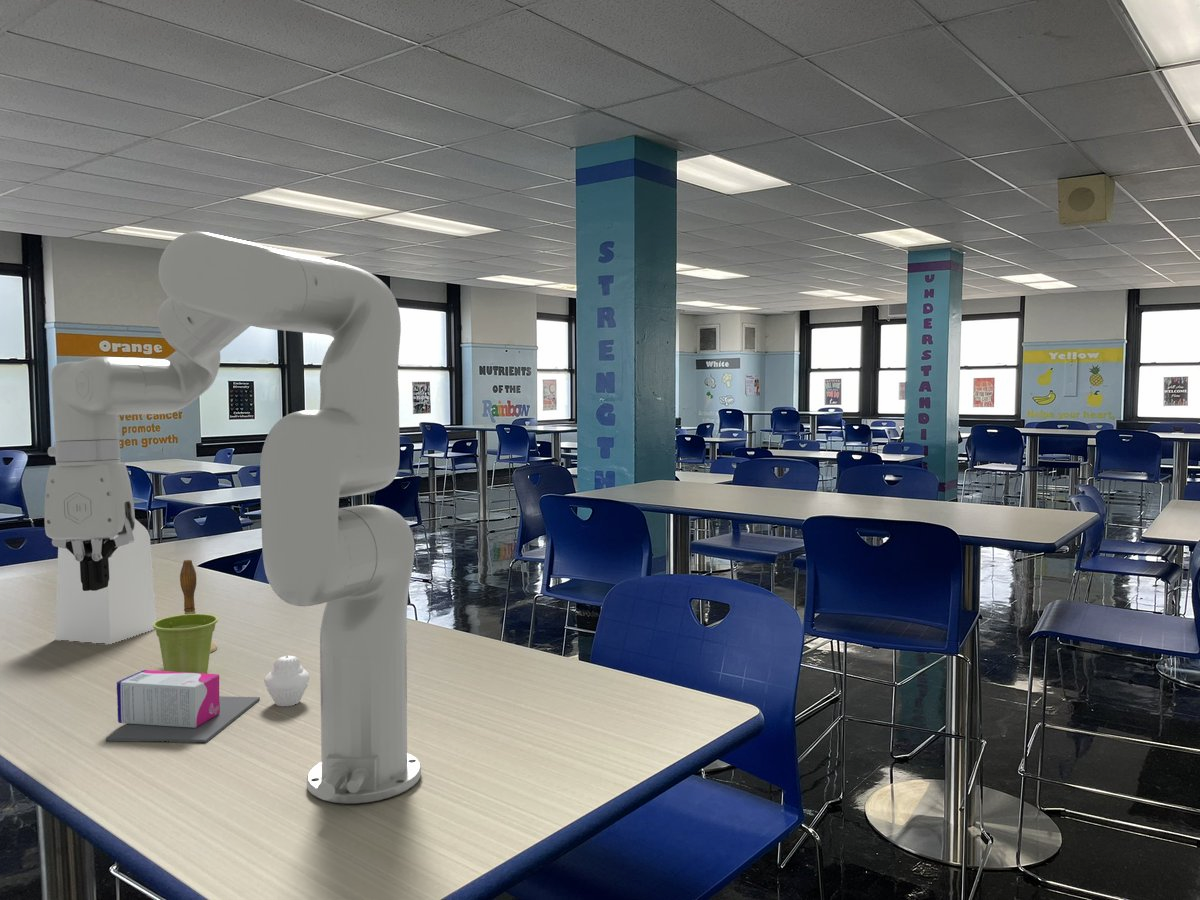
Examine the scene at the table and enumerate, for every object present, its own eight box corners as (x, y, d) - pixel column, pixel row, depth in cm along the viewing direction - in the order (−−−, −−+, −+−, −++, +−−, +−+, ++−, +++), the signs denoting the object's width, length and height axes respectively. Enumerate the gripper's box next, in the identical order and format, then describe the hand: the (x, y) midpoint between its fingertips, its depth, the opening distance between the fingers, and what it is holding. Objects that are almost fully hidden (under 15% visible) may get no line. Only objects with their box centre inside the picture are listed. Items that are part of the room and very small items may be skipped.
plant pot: (232, 668, 141) (231, 615, 140) (190, 686, 132) (188, 630, 131) (184, 663, 143) (183, 611, 143) (139, 681, 134) (138, 625, 134)
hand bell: (171, 661, 145) (169, 566, 144) (159, 650, 151) (157, 559, 151) (223, 652, 150) (221, 561, 149) (209, 641, 157) (207, 554, 156)
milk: (55, 640, 157) (50, 497, 156) (105, 624, 169) (101, 491, 167) (110, 644, 154) (106, 499, 153) (157, 628, 166) (154, 493, 164)
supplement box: (117, 725, 115) (195, 729, 113) (115, 681, 115) (193, 684, 113) (147, 710, 121) (221, 714, 119) (145, 668, 121) (220, 671, 119)
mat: (206, 742, 110) (206, 739, 110) (106, 740, 111) (106, 737, 111) (259, 699, 126) (259, 697, 126) (172, 698, 127) (172, 695, 127)
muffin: (319, 700, 126) (318, 653, 126) (284, 713, 121) (284, 663, 120) (290, 693, 129) (289, 646, 129) (255, 705, 124) (254, 657, 123)
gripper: (14, 457, 113) (22, 596, 114) (126, 453, 113) (133, 593, 113) (52, 454, 121) (60, 585, 121) (157, 451, 120) (164, 582, 121)
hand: (95, 588), depth 117 cm, fingers closed
